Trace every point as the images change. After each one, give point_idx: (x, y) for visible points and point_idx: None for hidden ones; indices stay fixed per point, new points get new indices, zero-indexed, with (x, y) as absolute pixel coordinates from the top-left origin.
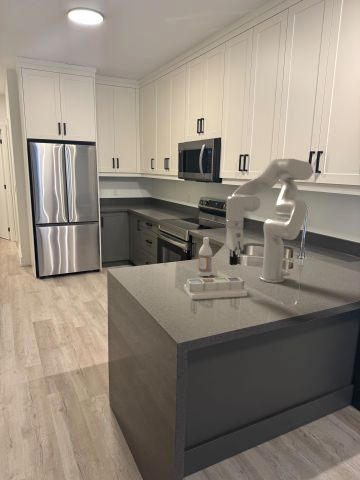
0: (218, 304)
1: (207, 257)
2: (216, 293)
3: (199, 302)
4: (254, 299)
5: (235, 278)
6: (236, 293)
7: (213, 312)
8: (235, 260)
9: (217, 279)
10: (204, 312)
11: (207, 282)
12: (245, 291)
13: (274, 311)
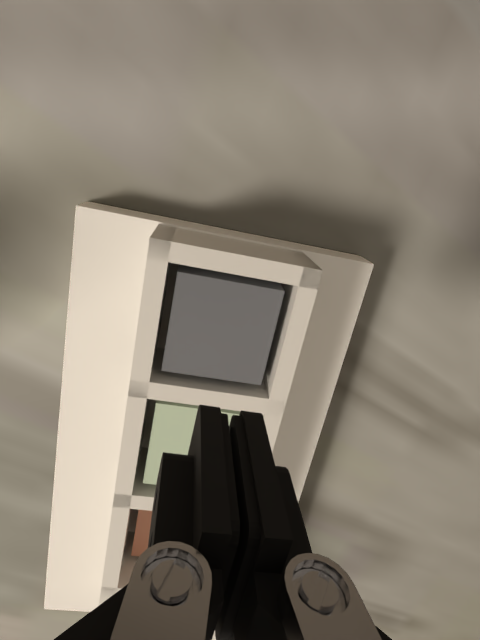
0: (387, 498)
1: None
2: (299, 492)
3: None
4: (443, 240)
5: (176, 287)
6: (342, 351)
7: (460, 557)
8: (295, 519)
9: (149, 466)
10: (436, 590)
11: (137, 522)
12: (363, 275)
13: None
